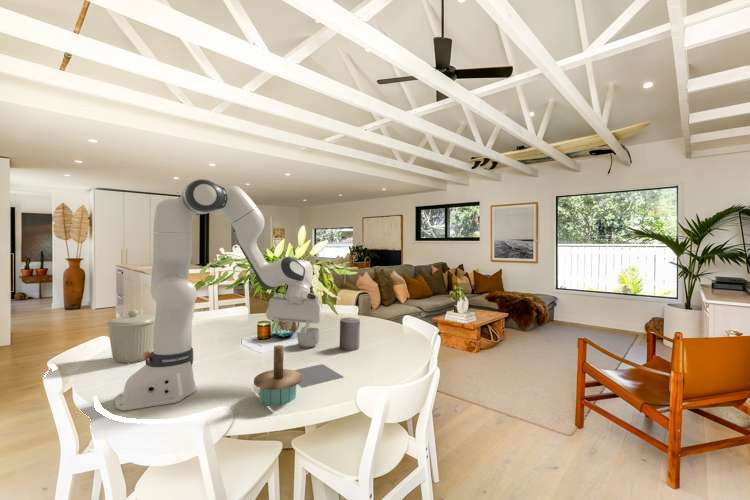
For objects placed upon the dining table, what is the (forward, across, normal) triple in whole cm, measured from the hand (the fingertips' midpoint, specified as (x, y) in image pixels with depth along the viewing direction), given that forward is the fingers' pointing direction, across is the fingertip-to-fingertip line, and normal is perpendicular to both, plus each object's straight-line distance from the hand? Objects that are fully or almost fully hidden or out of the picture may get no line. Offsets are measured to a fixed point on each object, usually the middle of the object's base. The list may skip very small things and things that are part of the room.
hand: (290, 331), depth 130 cm
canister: (+6, -68, +30) cm, 75 cm away
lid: (+19, +1, -6) cm, 20 cm away
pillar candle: (-11, +22, +42) cm, 48 cm away
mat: (+12, +9, +13) cm, 20 cm away
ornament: (-21, -14, +58) cm, 63 cm away
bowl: (+24, +1, -2) cm, 24 cm away
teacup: (-12, +1, +46) cm, 47 cm away
